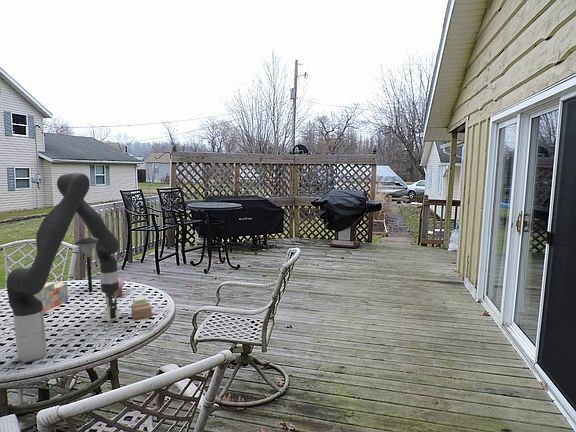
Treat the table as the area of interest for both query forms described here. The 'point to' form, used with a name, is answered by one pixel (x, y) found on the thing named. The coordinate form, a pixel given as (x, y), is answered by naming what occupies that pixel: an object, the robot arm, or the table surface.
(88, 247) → the solar garden light
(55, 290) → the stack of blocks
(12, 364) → the table surface
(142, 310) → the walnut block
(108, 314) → the cream cube
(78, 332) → the table surface
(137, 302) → the sage green cube
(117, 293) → the cupcake
